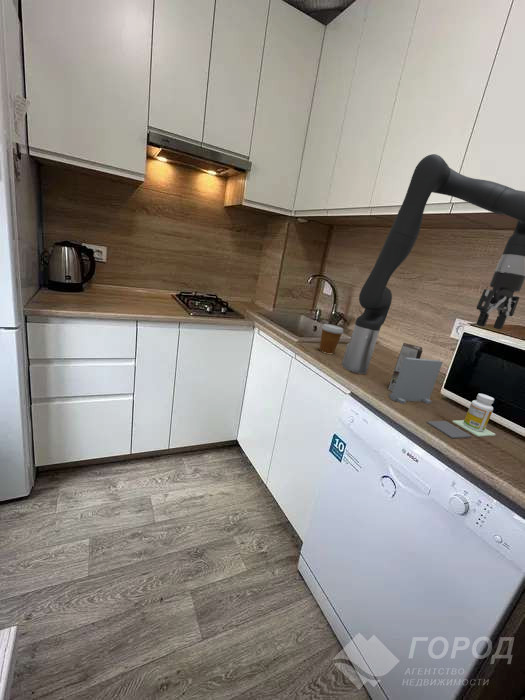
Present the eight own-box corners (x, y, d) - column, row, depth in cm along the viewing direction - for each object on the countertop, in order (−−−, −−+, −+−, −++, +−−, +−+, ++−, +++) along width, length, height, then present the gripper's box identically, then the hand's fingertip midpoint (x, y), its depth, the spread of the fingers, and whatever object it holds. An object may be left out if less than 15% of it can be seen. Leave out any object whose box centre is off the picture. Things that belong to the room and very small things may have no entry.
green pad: (452, 421, 97) (452, 420, 97) (469, 421, 101) (469, 419, 100) (478, 436, 90) (478, 435, 90) (495, 435, 94) (495, 434, 94)
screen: (386, 396, 107) (400, 355, 103) (420, 396, 114) (434, 358, 110) (398, 403, 103) (412, 361, 99) (432, 403, 110) (447, 364, 106)
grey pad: (426, 422, 92) (427, 421, 92) (445, 422, 96) (445, 420, 96) (452, 438, 85) (452, 437, 85) (471, 437, 89) (471, 435, 89)
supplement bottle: (475, 424, 98) (488, 394, 96) (488, 433, 93) (502, 402, 90) (458, 421, 98) (471, 390, 95) (470, 430, 93) (483, 398, 90)
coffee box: (407, 396, 111) (422, 351, 107) (387, 390, 114) (402, 345, 109) (408, 389, 119) (423, 347, 115) (389, 383, 122) (403, 341, 117)
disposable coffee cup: (317, 352, 144) (323, 326, 140) (314, 347, 153) (321, 322, 150) (338, 357, 144) (346, 331, 140) (335, 351, 153) (342, 326, 150)
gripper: (510, 275, 101) (490, 326, 106) (482, 266, 95) (462, 321, 99) (538, 278, 95) (515, 333, 99) (509, 270, 89) (486, 328, 93)
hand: (488, 327), depth 99 cm, fingers open, 8 cm apart
